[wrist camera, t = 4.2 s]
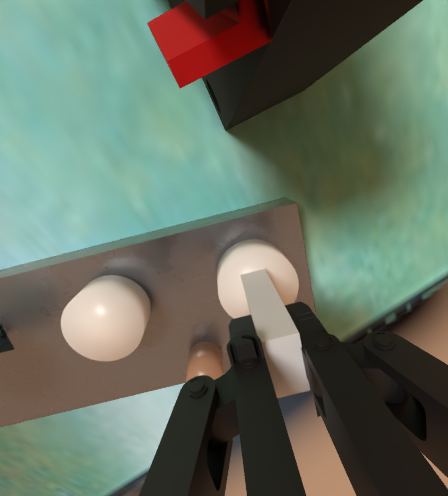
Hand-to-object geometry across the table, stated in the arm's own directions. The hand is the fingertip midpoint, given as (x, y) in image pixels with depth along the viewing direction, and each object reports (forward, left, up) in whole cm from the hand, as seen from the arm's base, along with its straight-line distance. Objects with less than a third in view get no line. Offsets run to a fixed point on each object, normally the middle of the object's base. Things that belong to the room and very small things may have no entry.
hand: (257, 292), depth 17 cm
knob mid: (-10, 0, -6) cm, 12 cm away
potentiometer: (-5, -6, -4) cm, 9 cm away
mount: (-10, -2, -7) cm, 12 cm away
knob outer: (0, 0, -6) cm, 6 cm away
